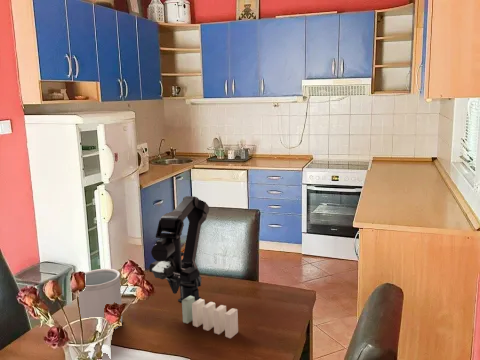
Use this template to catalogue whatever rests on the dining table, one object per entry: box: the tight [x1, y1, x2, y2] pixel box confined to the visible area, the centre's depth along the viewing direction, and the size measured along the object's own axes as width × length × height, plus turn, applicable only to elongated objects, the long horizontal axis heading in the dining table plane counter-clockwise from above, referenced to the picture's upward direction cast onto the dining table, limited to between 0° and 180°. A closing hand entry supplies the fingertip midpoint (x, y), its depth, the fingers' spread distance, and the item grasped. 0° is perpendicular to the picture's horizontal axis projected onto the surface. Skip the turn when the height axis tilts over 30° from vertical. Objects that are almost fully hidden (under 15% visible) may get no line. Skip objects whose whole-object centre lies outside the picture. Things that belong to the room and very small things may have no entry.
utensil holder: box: [77, 268, 123, 330], centre depth 148 cm, size 15×15×18 cm
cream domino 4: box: [224, 308, 239, 339], centre depth 141 cm, size 2×4×8 cm, turn 146°
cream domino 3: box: [213, 304, 227, 335], centre depth 143 cm, size 2×4×8 cm, turn 146°
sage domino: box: [181, 296, 195, 324], centre depth 150 cm, size 2×4×8 cm, turn 147°
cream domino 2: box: [202, 301, 217, 332], centre depth 145 cm, size 2×4×8 cm, turn 146°
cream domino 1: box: [192, 298, 206, 328], centre depth 148 cm, size 2×4×8 cm, turn 146°
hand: (175, 293), depth 153 cm, fingers closed
